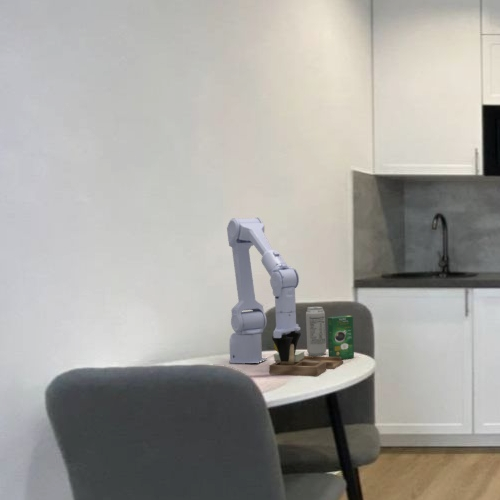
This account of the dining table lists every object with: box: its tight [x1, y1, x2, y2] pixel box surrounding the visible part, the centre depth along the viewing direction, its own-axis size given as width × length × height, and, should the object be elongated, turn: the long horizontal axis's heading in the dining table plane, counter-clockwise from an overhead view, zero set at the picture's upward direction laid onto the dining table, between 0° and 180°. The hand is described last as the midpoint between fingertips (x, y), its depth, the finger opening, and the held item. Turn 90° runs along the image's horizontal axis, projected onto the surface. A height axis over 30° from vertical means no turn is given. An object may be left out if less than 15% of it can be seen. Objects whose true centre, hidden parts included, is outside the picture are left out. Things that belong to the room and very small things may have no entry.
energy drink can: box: [305, 306, 327, 356], centre depth 230 cm, size 6×6×15 cm
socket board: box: [268, 360, 327, 377], centre depth 203 cm, size 14×8×2 cm, turn 66°
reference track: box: [274, 355, 344, 370], centre depth 213 cm, size 18×9×2 cm, turn 66°
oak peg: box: [280, 344, 295, 366], centre depth 204 cm, size 4×4×6 cm
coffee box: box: [327, 315, 355, 360], centre depth 220 cm, size 8×3×13 cm, turn 118°
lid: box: [272, 350, 305, 362], centre depth 216 cm, size 7×7×3 cm
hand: (287, 359), depth 204 cm, fingers closed on oak peg, 4 cm apart
